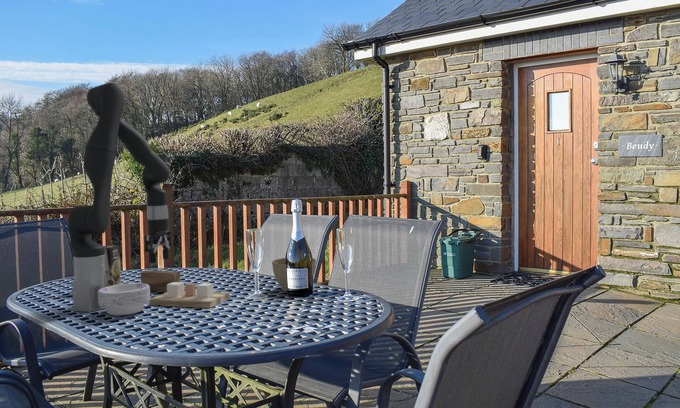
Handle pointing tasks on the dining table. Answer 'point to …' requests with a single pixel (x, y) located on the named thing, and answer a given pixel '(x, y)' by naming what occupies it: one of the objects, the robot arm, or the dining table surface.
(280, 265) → the planter bowl
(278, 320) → the dining table surface
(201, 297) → the display stand
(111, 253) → the coffee box
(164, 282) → the walnut bar
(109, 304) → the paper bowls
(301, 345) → the dining table surface
